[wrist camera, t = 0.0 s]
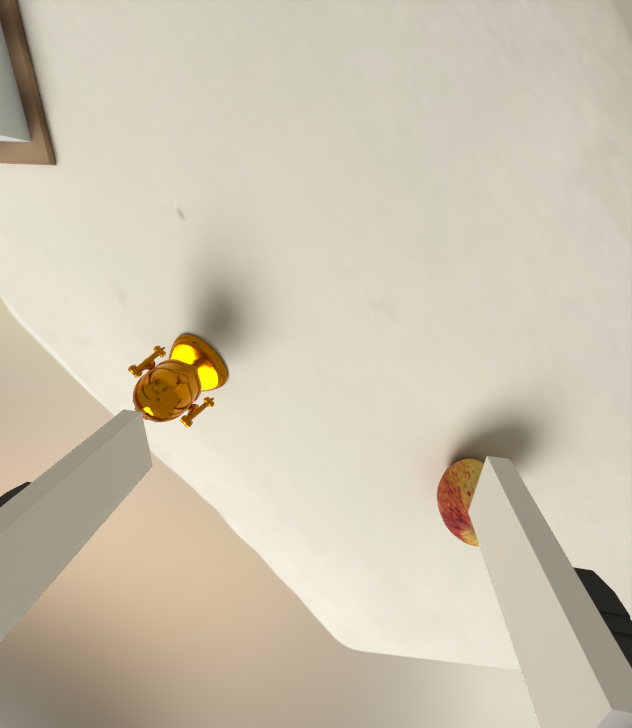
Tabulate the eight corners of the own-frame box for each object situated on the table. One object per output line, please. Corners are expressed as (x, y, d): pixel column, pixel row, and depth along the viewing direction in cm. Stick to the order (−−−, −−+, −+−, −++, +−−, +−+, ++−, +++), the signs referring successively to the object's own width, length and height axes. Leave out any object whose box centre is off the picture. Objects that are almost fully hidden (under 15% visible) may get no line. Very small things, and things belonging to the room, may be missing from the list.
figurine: (245, 368, 44) (205, 418, 33) (193, 407, 48) (142, 463, 37) (200, 317, 42) (141, 353, 31) (149, 363, 46) (81, 408, 35)
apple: (423, 452, 45) (437, 511, 36) (494, 438, 43) (527, 497, 34) (438, 501, 48) (454, 566, 39) (505, 490, 46) (539, 558, 37)
